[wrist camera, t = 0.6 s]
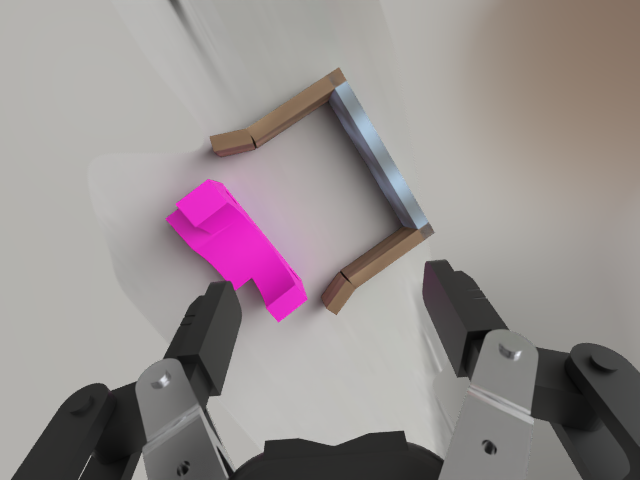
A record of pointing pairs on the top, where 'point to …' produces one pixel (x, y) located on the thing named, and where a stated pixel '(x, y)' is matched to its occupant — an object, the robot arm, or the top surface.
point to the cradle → (373, 155)
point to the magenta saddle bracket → (236, 246)
